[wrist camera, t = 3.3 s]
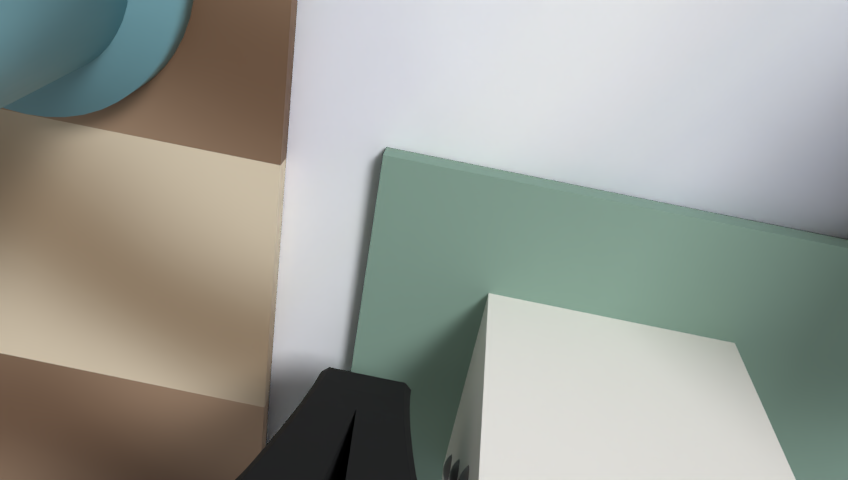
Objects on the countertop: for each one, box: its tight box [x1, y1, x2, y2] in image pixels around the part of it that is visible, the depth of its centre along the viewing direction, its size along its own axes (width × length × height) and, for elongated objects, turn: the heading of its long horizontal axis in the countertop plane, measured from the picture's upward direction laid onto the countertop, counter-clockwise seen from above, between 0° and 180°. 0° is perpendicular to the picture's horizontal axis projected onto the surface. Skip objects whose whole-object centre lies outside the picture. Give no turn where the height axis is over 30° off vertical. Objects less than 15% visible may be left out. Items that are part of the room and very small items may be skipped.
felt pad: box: [351, 147, 848, 480], centre depth 12 cm, size 8×10×1 cm
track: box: [0, 0, 297, 480], centre depth 11 cm, size 20×7×1 cm, turn 170°
